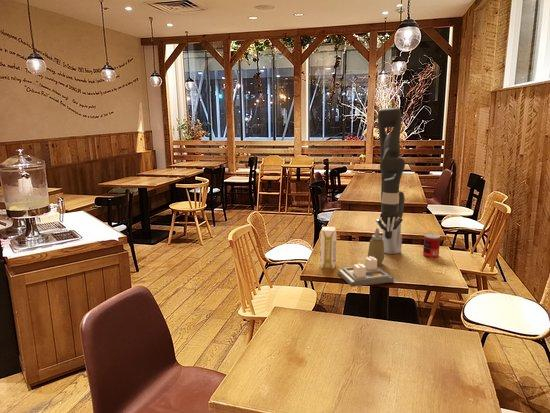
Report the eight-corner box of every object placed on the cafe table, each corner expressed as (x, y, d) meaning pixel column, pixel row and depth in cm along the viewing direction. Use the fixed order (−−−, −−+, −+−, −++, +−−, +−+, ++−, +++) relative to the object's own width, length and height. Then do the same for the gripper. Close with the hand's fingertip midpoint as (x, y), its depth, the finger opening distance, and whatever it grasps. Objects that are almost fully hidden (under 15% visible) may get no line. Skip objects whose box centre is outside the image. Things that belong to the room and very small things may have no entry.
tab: (361, 274, 186) (362, 262, 185) (365, 277, 182) (366, 265, 181) (353, 275, 185) (353, 263, 184) (357, 278, 181) (357, 266, 180)
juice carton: (335, 263, 207) (336, 226, 202) (335, 269, 198) (336, 231, 194) (320, 262, 208) (321, 225, 203) (319, 268, 199) (320, 230, 195)
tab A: (372, 266, 195) (373, 255, 193) (376, 269, 191) (377, 258, 190) (364, 267, 194) (365, 256, 193) (368, 270, 190) (369, 259, 189)
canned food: (440, 254, 218) (441, 234, 215) (436, 259, 211) (438, 238, 209) (424, 252, 222) (426, 232, 219) (421, 256, 215) (422, 236, 213)
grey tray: (377, 269, 198) (377, 263, 197) (393, 281, 184) (393, 275, 183) (337, 273, 193) (338, 267, 193) (351, 286, 179) (351, 280, 178)
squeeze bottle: (364, 263, 206) (365, 228, 202) (372, 259, 211) (374, 225, 207) (378, 267, 200) (380, 231, 196) (387, 263, 206) (389, 228, 202)
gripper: (399, 199, 192) (396, 235, 196) (372, 200, 189) (371, 237, 193) (407, 202, 185) (405, 239, 189) (380, 204, 182) (378, 242, 186)
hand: (387, 238), depth 191 cm, fingers closed
